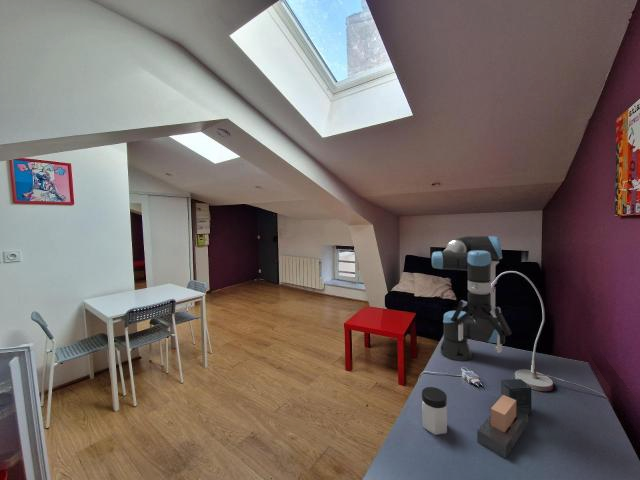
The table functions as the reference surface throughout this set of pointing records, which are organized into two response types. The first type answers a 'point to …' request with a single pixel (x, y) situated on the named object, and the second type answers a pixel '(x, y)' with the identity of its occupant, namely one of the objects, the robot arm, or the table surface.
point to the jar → (434, 410)
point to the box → (518, 393)
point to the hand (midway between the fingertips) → (479, 345)
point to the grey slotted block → (502, 434)
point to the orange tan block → (503, 413)
